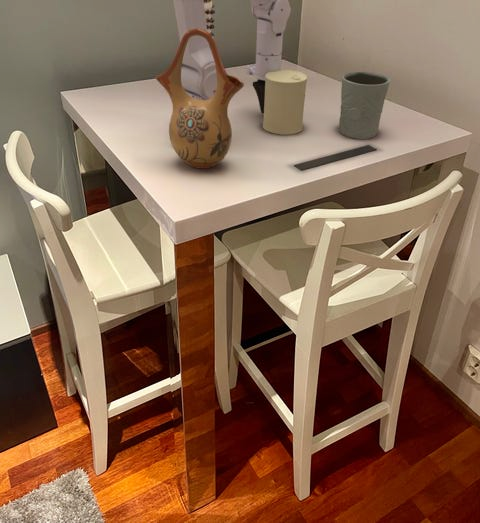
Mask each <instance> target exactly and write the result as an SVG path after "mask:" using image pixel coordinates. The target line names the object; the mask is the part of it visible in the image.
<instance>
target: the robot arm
mask: <svg viewBox="0 0 480 523" xmlns="http://www.w3.org/2000/svg"><path fill="white" fill-rule="evenodd" d="M172 1H173V7H174V13H175V19H176V25H177V31H178V39H179V44H180V43H181V40H182V38H183V36H184V34H185V33H186V32H187V31H189V30H191V29H196V28H199V29H202V30H205V31H206V32H207V25H206V17H205V9H204V1H203V0H172ZM249 2H250V5H251V6H250V10H251V14H252V16H253V17H254V18H255V19H256V44H255V46H256V47H255V64H250V65H246V75H248V76H252V77H254V78H255V79H257V80H256V81H253V82H252V87H253V89H254V91H255V93H256V96H257V99H258V104H259V105H258V106H259V110H260V113H261V114H262V115H264V101H265V75H266V73H268V72H275V71H278V70H282V58H283V57H282V56H283V55H282V54H283V41H284V40H283V39H284V32H285V30H286V28H287V21H288V20H289V18H290V16H291V11H292V8H291V6H290V2H289V0H249ZM181 83H182V86H183V88H184V90H185V91H186V93H187V94H188V95H190V96H191V97H193V98H195V99H200V100H208V99H210V98H211V97H212V96H213V95H214V94H215V92H216V89H217V74H216V67H215V62H214V58H213V55H212V52H211V49H210V48H209V44H208V42H207V40H206V39H205V38H204V37H202V36H198V35H196V36H192V37H190V39H189V40H188V42H187V45H186V48H185V52H184V56H183V61H182V68H181Z"/></svg>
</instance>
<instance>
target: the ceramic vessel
mask: <svg viewBox="0 0 480 523" xmlns="http://www.w3.org/2000/svg"><path fill="white" fill-rule="evenodd" d="M196 35H198V36H202V37H204V38H205V39H206V40H207V42H208V44H209V46H210V49H211V52H212V55H213V58H214V62H215V67H216V74H217V89H216V92H215V94H214V95H213V96H212V97H211V98H210V99H208V100H200V99H195V98H193V97H191V96H190V95H188V94H187V93H186V91H185V90H184V88H183V86H182V83H181V68H182V61H183V56H184V52H185V48H186V45H187V42H188V40H189V39H190V37H192V36H196ZM154 78H155V80H156V81H157V82H158V83H159V84H160V85H161V86H162V87H163V88H164V90H165V91H166V93H167V94H168V96H169V98H170V102H171V104H172V113H171V117H170V119H169V125H168V135H169V139H170V140H169V141H170V144H171V147H172V148H173V150H174V152H175V153H176V155H177V156H178V158H180V159H181V160H182V162H184V163H185V164H187V166H189V167H192V168H196V169H211V168H213V167H215V166H216V165H218V164H219V163H221V162H222V161H223V160H224V158H225V157H226V156H227V155H228V153H229V151H230V149H231V145H232V140H233V130H232V124H231V121H230V119H229V115H228V109H229V108H228V107H229V104H230V101H231V100H232V99H233V97H234V96H235V95H236V94H237V93H238V92H239V91H240V90H242V89H243V88H244V86H245V84H244V82H243V81H242V80H241V79H240V78H238V77H236V76H233V75H230V74H228V73H227V70H226V69H225V67H224V64H223V62H222V59H221V56H220V52H219V49H218V47H217V44H216V41H215V39H214V37H213V38H212V36H211V35H210V34H209V33H208V32H206V31H205V30H202V29H199V28H196V29H191V30H189V31H187V32H186V33H185V34H184V36H183V38H182V40H181V43H180V42H179V46H178V48H177V51H176V53H175V56H174V58H173V60H172V61H171V63H170V65H169V67H168V68H167V69H166V71H164V72H161V73H160V74H158V75H156V76H155V77H154Z"/></svg>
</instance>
